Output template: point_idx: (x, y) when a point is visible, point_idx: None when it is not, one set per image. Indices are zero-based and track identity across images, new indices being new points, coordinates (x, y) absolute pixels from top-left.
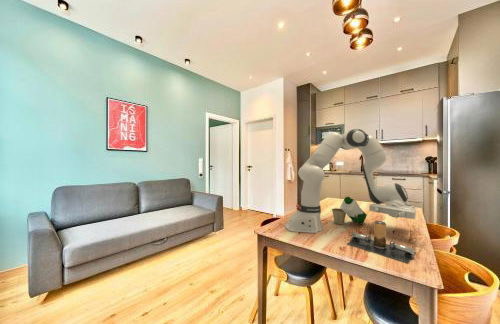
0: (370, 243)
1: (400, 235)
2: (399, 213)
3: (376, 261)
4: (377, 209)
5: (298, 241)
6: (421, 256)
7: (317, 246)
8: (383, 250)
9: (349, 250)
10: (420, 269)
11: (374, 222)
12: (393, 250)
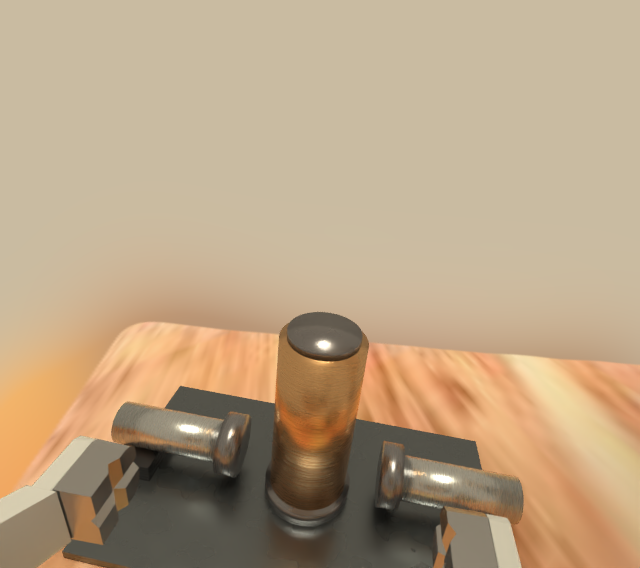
0: (373, 521)
1: None
2: (86, 439)
3: None
4: (459, 510)
5: (621, 368)
6: None
7: (533, 364)
8: None
9: (422, 390)
10: (144, 371)
11: (362, 337)
12: (225, 485)
